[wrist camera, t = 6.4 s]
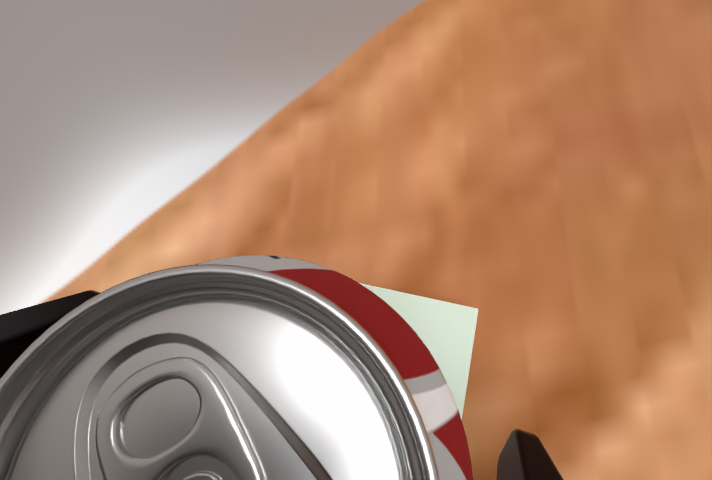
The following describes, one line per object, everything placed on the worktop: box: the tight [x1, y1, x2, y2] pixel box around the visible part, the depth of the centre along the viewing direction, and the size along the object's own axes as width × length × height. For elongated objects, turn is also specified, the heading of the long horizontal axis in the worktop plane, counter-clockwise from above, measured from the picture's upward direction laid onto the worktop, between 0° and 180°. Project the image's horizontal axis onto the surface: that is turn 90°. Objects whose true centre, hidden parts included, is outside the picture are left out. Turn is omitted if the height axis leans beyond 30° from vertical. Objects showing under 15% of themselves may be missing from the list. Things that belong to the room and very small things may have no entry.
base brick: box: [359, 283, 478, 421], centre depth 17 cm, size 10×10×3 cm
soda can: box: [0, 255, 473, 480], centre depth 10 cm, size 7×7×12 cm
